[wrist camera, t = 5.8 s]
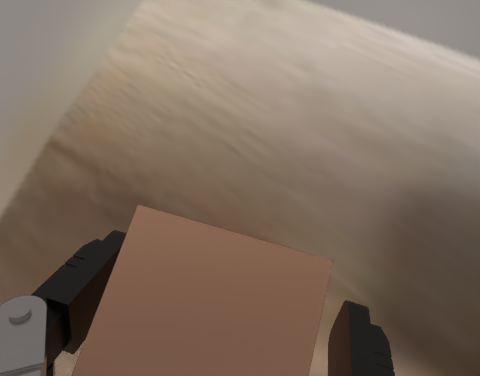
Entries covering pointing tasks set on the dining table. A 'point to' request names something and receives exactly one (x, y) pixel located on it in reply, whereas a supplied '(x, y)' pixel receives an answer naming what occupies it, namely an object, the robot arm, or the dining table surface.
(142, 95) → the dining table surface
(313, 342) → the pedestal cube
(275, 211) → the dining table surface
